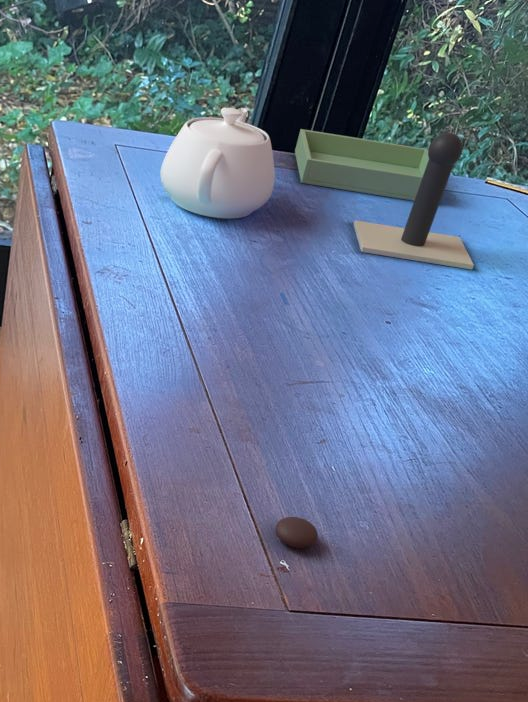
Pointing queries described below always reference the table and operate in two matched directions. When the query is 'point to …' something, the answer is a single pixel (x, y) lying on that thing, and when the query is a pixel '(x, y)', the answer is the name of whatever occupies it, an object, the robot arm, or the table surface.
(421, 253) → the joystick
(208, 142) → the teapot
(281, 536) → the chocolate truffle
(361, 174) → the tray
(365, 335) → the table surface
